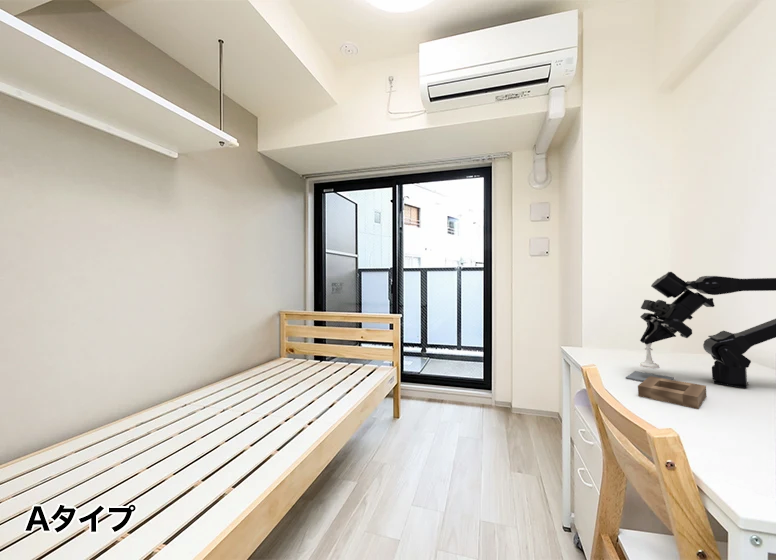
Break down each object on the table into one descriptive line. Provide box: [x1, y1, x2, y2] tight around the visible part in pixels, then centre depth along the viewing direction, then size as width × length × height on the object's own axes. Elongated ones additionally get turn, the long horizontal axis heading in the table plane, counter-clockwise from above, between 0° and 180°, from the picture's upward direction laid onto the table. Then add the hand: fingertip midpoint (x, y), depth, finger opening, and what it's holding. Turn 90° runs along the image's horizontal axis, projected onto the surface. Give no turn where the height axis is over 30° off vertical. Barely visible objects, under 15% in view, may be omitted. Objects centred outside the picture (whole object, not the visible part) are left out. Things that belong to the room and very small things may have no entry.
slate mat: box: [625, 370, 675, 383], centre depth 100 cm, size 10×10×1 cm
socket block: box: [637, 376, 707, 410], centre depth 85 cm, size 12×12×3 cm
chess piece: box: [639, 336, 660, 370], centre depth 100 cm, size 5×5×10 cm
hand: (643, 342), depth 101 cm, fingers closed on chess piece
